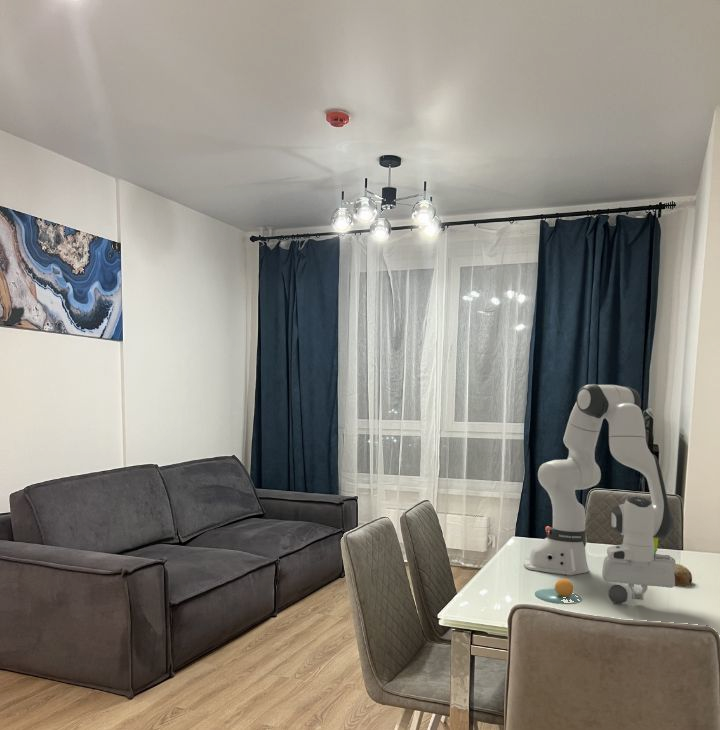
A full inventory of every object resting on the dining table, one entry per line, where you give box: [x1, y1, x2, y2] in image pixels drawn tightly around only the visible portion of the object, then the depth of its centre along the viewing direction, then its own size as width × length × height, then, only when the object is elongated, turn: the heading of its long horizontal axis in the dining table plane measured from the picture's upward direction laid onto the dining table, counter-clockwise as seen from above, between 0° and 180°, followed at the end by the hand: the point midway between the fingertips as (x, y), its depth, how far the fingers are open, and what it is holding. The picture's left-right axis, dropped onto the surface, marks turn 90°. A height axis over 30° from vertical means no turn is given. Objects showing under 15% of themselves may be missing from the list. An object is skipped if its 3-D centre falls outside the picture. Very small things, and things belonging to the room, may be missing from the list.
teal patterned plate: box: [534, 588, 583, 604], centre depth 206 cm, size 14×14×1 cm
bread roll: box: [674, 563, 693, 587], centre depth 226 cm, size 10×10×8 cm
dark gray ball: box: [607, 584, 629, 605], centre depth 201 cm, size 6×6×6 cm
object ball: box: [554, 578, 574, 597], centre depth 206 cm, size 6×6×6 cm
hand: (637, 598), depth 201 cm, fingers closed
